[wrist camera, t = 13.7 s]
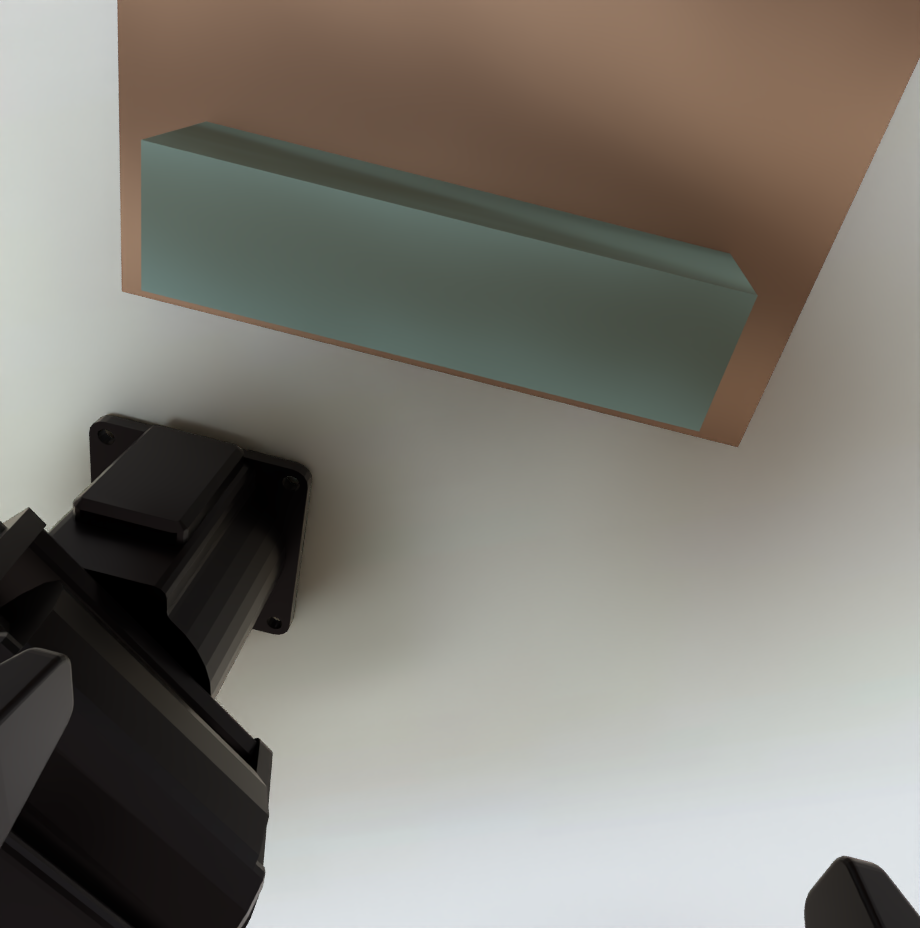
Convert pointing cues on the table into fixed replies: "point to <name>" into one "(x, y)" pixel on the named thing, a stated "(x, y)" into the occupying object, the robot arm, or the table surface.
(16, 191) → the table surface
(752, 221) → the ring
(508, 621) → the table surface
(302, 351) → the table surface
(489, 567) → the table surface
